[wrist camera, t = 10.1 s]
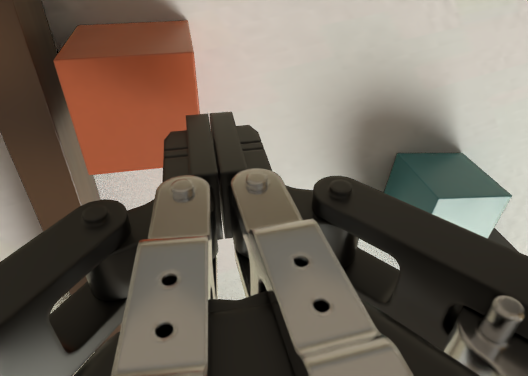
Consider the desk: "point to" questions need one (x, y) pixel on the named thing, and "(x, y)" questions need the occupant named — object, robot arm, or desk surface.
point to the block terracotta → (127, 91)
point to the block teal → (449, 189)
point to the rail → (40, 118)
